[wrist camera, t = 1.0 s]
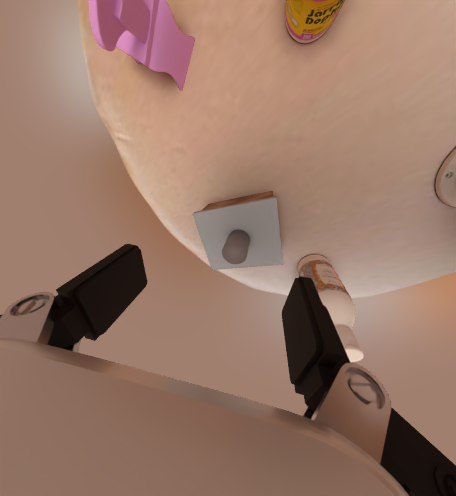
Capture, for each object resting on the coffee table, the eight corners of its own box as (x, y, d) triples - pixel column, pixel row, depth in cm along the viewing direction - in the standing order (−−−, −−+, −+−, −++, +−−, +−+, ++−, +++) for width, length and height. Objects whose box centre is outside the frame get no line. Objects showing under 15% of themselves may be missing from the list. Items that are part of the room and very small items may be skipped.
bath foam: (335, 257, 36) (398, 350, 19) (321, 280, 39) (363, 375, 22) (303, 250, 36) (336, 333, 19) (292, 273, 40) (312, 360, 23)
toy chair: (142, -9, 22) (-21, -223, 10) (197, 29, 23) (113, -126, 10) (133, 68, 27) (13, -10, 14) (180, 98, 27) (105, 49, 15)
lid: (276, 196, 25) (278, 206, 20) (282, 261, 31) (285, 282, 26) (194, 212, 30) (179, 223, 24) (213, 267, 35) (204, 286, 30)
